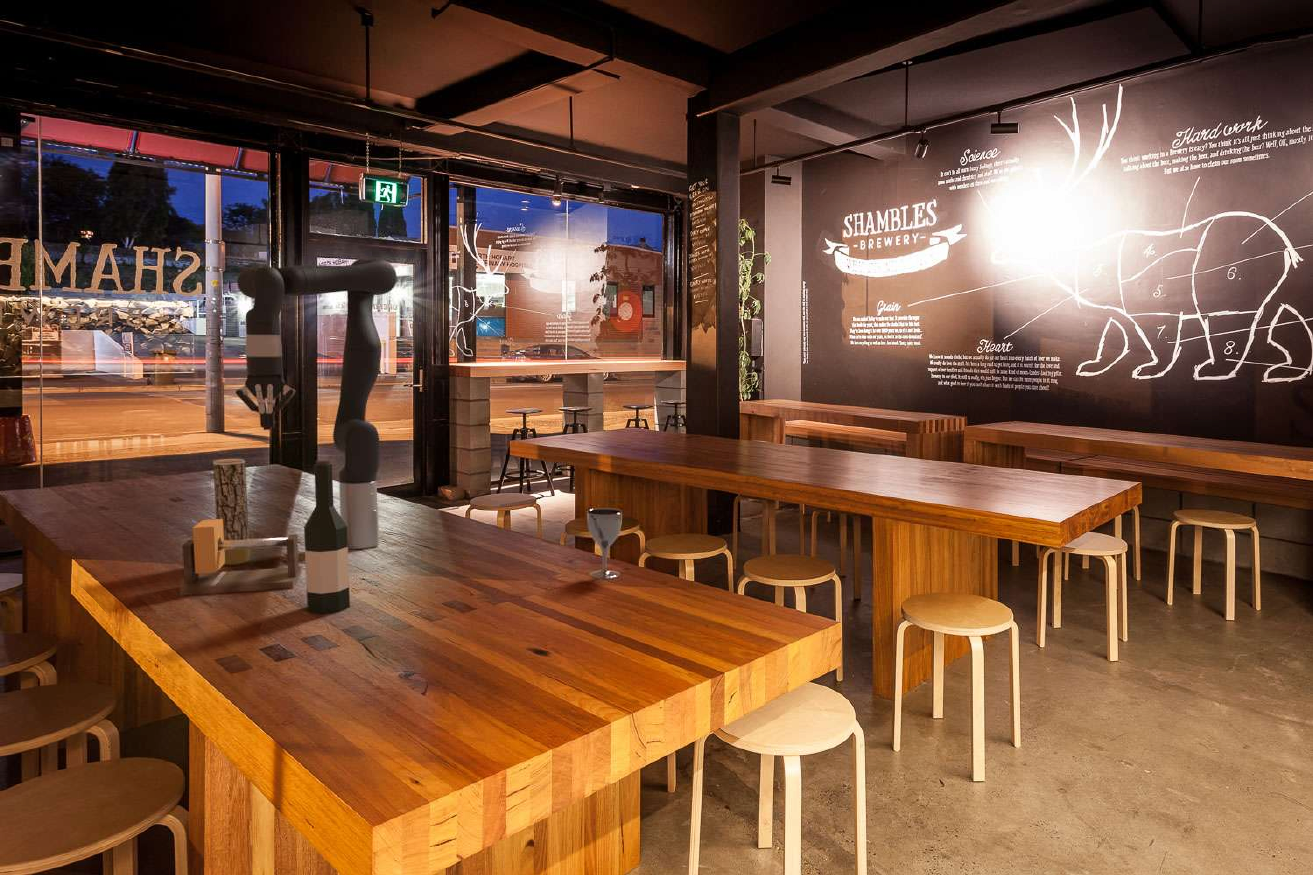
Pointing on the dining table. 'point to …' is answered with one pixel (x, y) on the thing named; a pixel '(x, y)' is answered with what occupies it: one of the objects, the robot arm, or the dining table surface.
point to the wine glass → (604, 535)
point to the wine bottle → (326, 549)
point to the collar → (208, 546)
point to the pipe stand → (245, 578)
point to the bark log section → (232, 505)
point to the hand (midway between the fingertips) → (267, 429)
